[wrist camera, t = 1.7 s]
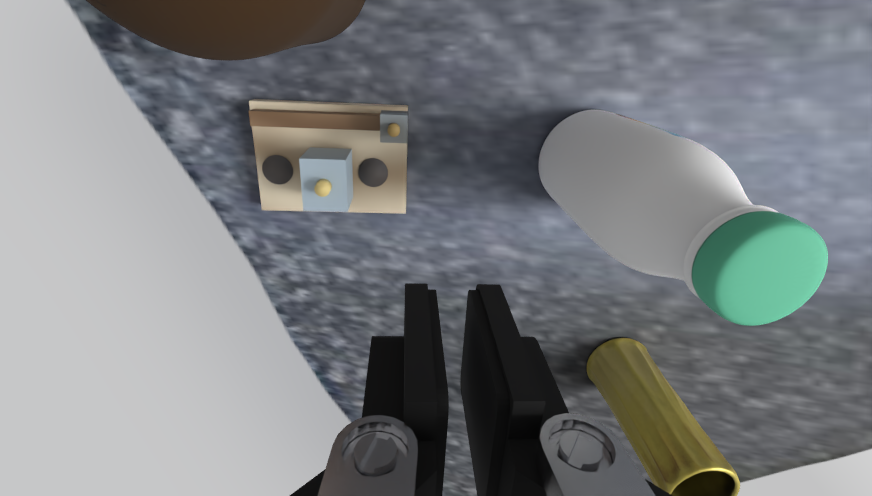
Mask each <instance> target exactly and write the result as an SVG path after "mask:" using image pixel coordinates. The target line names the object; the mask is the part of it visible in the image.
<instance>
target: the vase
mask: <svg viewBox="0 0 872 496" xmlns="http://www.w3.org/2000/svg"><path fill="white" fill-rule="evenodd" d="M587 374H588V377H589V378H590V380H591V381H592V382H593V383H594V384H595V385H596V387H597V389H598V390H599V392H600V393H601V395H602V396H603V398H604V399H605V401H606V402H607V404H608V405H609V407H610V409H611V410H612V412H613V414H614V416H615V418H616V419H617V421H618V423H619V425H620V426H621V428H622V430H623V432H624V433H625V435H626V437H627V438H628V440H629V442H630V443H631V445H632V447H633V448H634V450H635V452H636V454H637V455H638V457H639V459H640V461H641V463H642V464H643V466H644V468H645V470H646V472H647V473H648V475H649V477H650V478H651V480H652V482H653V484H654V485H656V486H657V487H659V488H661V489H663V490H664V491H666V492H668V493H669V494H671V495H673V496H737V494H738V492H739V489H740V482H739V479H738V476H737V474H736V472H735V471H734V469H733V468H732V467H731V465H730V464H729V463H728V462H727V460H726V459H725V458H724V457H723V455H722V454H721V453H720V451H719V450H718V449H717V447H716V446H715V445H714V443H713V442H712V441H711V439H710V438H709V437H708V436H707V434H706V433H705V432H704V431H703V429H702V428H701V427H700V425H699V424H698V422H697V421H696V420H695V418H694V417H693V416H692V414H691V413H690V411H689V410H688V408H687V407H686V406H685V404H684V403H683V401H682V400H681V399H680V397H679V396H678V395H677V393H676V392H675V391H674V389H673V388H672V387H671V386H670V384H669V383H668V382H667V380H666V379H665V378H664V377H663V375H662V373H661V372H660V370H659V369H658V367H657V366H656V364H655V363H654V361H653V360H652V358H651V357H650V355H649V354H648V352H647V350H646V348H645V347H644V346H643V345H642V344H641V343H640V342H638V341H635V340H633V339H630V338H616V339H612V340H609V341H607V342H605V343H603V344H602V345H600V346H599V347H597V348H596V349H595V350H594V351H593V353H592V354H591V355H590V357H589V359H588V362H587Z"/></svg>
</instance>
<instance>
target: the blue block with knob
mask: <svg viewBox="0 0 872 496" xmlns="http://www.w3.org/2000/svg"><path fill="white" fill-rule="evenodd" d="M299 163H300V176H301V188H302V201H303V211H329V212H348V210H349V207H350V204H351V201H352V199H353V169H352V149H345V148H316V147H310V148H309V149H308V150H307V151H306V152H305V153H304V154H303V155H302V156H301V157H300V158H299Z"/></svg>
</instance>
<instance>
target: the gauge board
mask: <svg viewBox="0 0 872 496" xmlns="http://www.w3.org/2000/svg"><path fill="white" fill-rule="evenodd" d="M249 107H250V111H249V118H250V126H252V131H253V140H254V148H255V156H256V165H257V173H258V181H259V189H260V198H261V206H262V210H277V211H303V201H302V188H301V176H300V163H299V158H300V157H301V156H302V155H303V154H304V153H305V152H306V151H307V150H308V149H309V148H310V147H316V148H345V149H352V169H353V199H352V201H351V204H350V207H349V210H348V212H362V213H404V214H406V181H407V141H408V105H386V104H362V103H338V102H314V101H290V100H266V99H253V100H250V101H249ZM320 212H329V211H320Z"/></svg>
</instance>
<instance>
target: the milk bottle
mask: <svg viewBox="0 0 872 496" xmlns="http://www.w3.org/2000/svg"><path fill="white" fill-rule="evenodd" d="M539 175H540V179H541V182H542V184H543V186H544V188H545V190H546V191H547V192H548V194H549V195H550V196H551V197H552V198H553V200H554V201H555V202H556V203H557V204H558V205H559V206H560V207H561V208H562V209H563V210H564V211H565V212H566V213H567V214H568V215H569V216H570V217H571V218H572V219H573V221H574V222H575V223H576V224H577V225H578V226H579V227H580V228H581V229H582V230H583V231H584V232H585V233H586V234H587V235H588V236H589V237H590V238H591V239H592V240H593V241H594V242H595V243H596V244H597V245H599V246H600V247H601V248H602V249H603V250H604V251H605V252H606V253H608V254H609V255H610V256H611V257H613V258H614V259H616V260H617V261H619V262H620V263H622V264H624V265H626V266H628V267H630V268H632V269H634V270H637V271H640V272H643V273H647V274H651V275H656V276H663V277H672V278H677V279H681V280H684V281H685V282H686V284H687V286H688V288H689V289H690V290H691V292H692V293H693V294H695V295H696V296H697V297H699V298H700V299H701V300H702V301H703V302H704V303H705V304H706V305H707V306H708V307H709V308H710V309H712V310H713V311H714V312H716V313H717V314H718V315H719V316H721V317H722V318H724V319H726V320H728V321H731V322H733V323H736V324H740V325H750V326H751V325H762V324H767V323H770V322H773V321H776V320H779V319H781V318H783V317H785V316H787V315H789V314H790V313H792V312H794V311H795V310H797V309H798V308H799V307H801V306H802V305H803V304H804V303H805V302H806V301H807V300H808V299H809V298H810V297H811V296H812V295H813V294H814V292H815V291H816V290H817V288H818V287H819V285H820V283H821V281H822V279H823V277H824V275H825V272H826V269H827V264H828V252H827V248H826V245H825V242H824V241H823V239H822V238H821V236H820V235H819V234H818V233H817V232H816V231H815V230H814V229H812V228H811V227H810V226H808V225H806V224H804V223H802V222H800V221H798V220H797V219H794V218H792V217H789V216H787V215H784V214H781V213H779V212H777V211H775V210H774V209H771V208H769V207H766V206H760V205H753V204H752V203H751V202H750V201H749V200H748V198H747V196H746V195H745V193H744V190H743V188H742V186H741V184H740V182H739V181H738V179H737V177H736V175H735V174H734V172H733V171H732V170H731V169H730V167H729V166H728V165H727V164H726V163H725V162H724V161H723V160H722V159H721V158H720V157H719V156H717V155H716V154H715V153H714V152H712V151H710V150H709V149H707V148H705V147H704V146H702V145H701V144H699V143H696V142H694V141H692V140H689V139H687V138H685V137H682V136H680V135H677V134H675V133H672V132H669V131H666V130H663V129H660V128H658V127H655V126H652V125H649V124H646V123H643V122H640V121H637V120H634V119H631V118H628V117H625V116H621V115H618V114H615V113H612V112H608V111H604V110H585V111H581V112H578V113H575V114H573V115H571V116H569V117H567V118H566V119H564V120H563V121H561V122H560V123H559V124H558V125H557V126H556V127H555V128H554V129H553V130H552V131H551V132H550V134H549V135H548V137H547V138H546V140H545V142H544V144H543V146H542V149H541V152H540V156H539Z"/></svg>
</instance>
